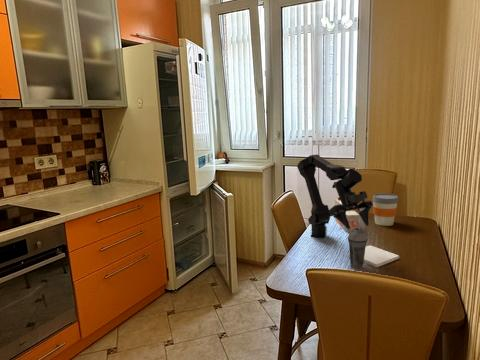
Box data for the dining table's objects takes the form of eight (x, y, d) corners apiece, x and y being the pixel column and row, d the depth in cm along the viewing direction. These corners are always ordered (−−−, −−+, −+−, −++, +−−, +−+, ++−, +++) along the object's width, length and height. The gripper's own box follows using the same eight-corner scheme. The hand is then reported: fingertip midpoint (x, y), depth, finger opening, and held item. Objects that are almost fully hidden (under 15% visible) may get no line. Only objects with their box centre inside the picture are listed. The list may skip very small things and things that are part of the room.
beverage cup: (344, 263, 139) (345, 215, 135) (361, 262, 139) (363, 214, 135) (351, 271, 132) (352, 221, 128) (369, 270, 132) (371, 220, 128)
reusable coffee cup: (399, 222, 186) (401, 195, 183) (392, 228, 177) (393, 200, 174) (376, 218, 194) (377, 192, 191) (368, 224, 185) (369, 196, 182)
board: (348, 255, 146) (348, 252, 146) (370, 247, 153) (370, 245, 153) (376, 267, 134) (376, 264, 134) (398, 258, 141) (398, 255, 141)
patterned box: (358, 232, 173) (359, 208, 171) (346, 233, 173) (346, 209, 171) (345, 219, 194) (346, 198, 192) (334, 220, 194) (335, 198, 192)
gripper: (336, 187, 138) (350, 223, 131) (373, 182, 144) (388, 217, 138) (323, 198, 147) (335, 233, 141) (358, 193, 153) (372, 226, 147)
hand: (358, 227), depth 141 cm, fingers open, 9 cm apart
